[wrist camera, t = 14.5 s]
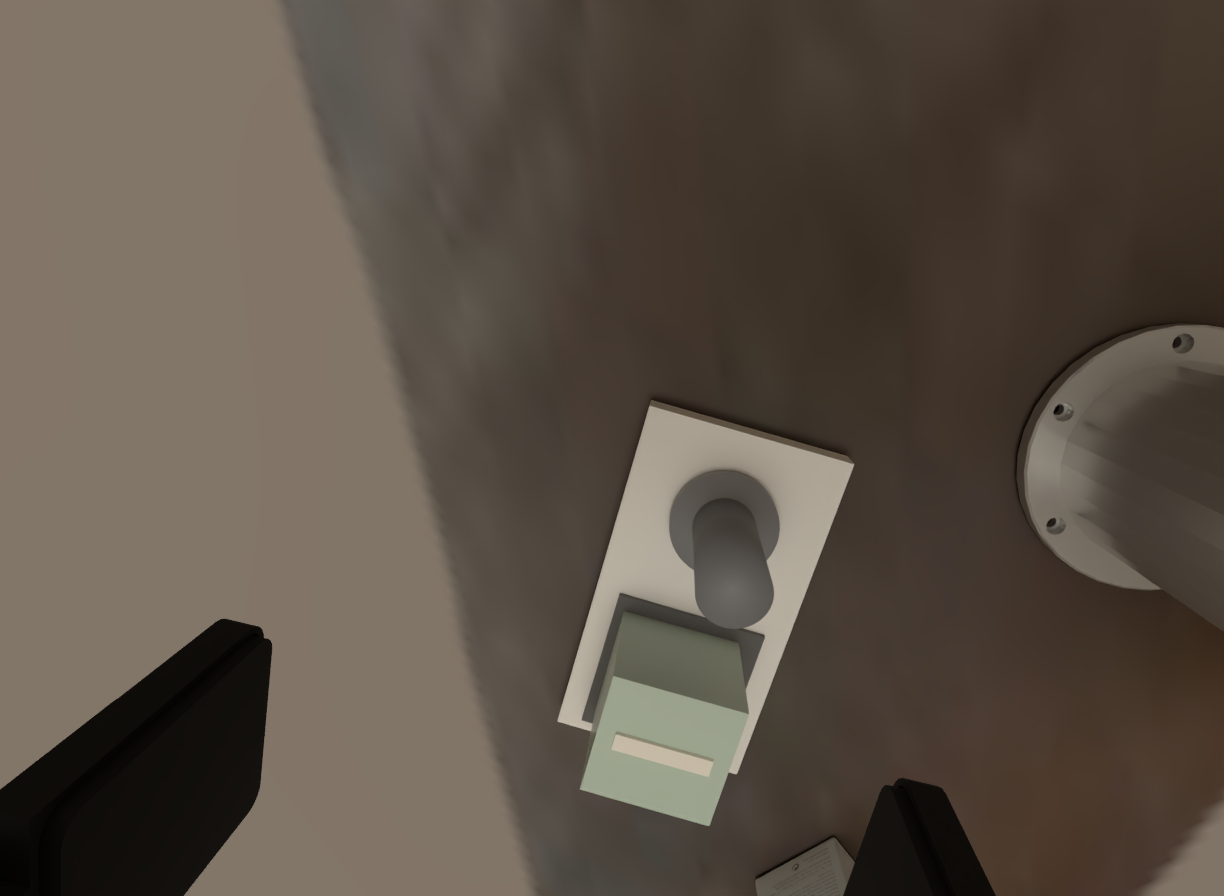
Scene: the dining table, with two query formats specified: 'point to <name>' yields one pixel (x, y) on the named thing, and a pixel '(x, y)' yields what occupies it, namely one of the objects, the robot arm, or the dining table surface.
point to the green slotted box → (667, 719)
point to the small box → (810, 873)
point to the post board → (671, 575)
